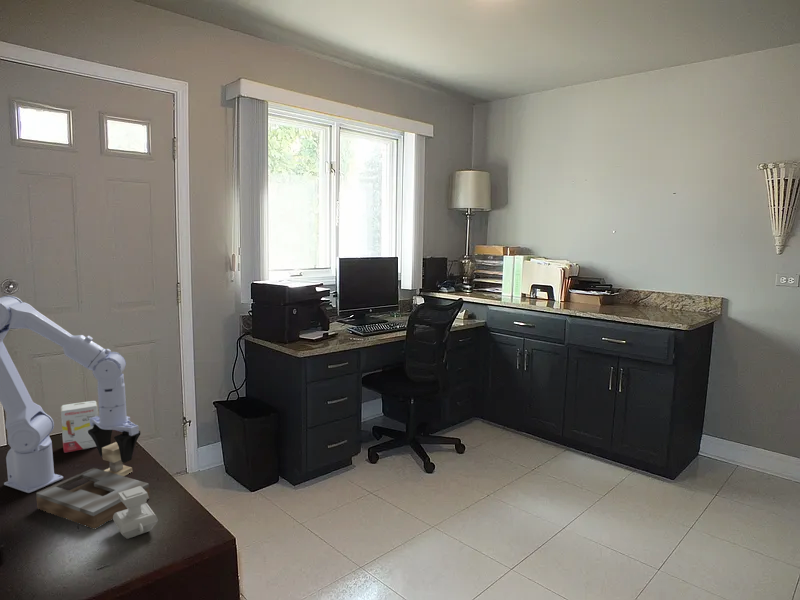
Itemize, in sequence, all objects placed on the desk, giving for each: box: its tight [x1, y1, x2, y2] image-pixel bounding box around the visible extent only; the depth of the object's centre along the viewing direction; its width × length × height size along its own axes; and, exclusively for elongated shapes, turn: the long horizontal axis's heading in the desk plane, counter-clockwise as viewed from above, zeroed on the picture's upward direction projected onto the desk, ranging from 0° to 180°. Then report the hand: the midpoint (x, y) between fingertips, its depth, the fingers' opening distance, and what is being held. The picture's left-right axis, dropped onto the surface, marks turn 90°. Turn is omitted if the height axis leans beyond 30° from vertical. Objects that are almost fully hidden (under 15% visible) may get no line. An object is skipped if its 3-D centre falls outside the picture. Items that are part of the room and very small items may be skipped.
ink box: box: [60, 400, 99, 453], centre depth 140 cm, size 9×5×12 cm, turn 124°
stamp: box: [112, 486, 159, 540], centre depth 102 cm, size 9×7×8 cm
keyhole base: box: [35, 467, 151, 530], centre depth 112 cm, size 18×13×4 cm
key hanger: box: [102, 441, 133, 477], centre depth 125 cm, size 5×5×7 cm
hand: (115, 458), depth 125 cm, fingers open, 7 cm apart
